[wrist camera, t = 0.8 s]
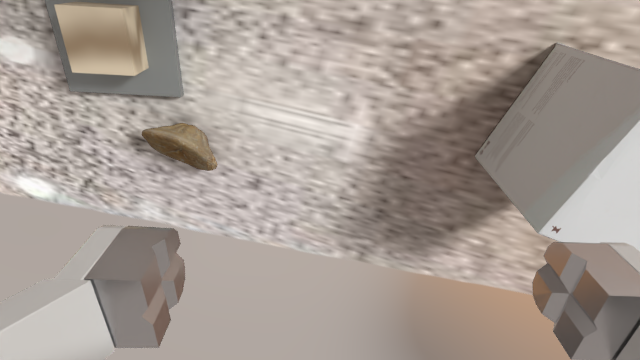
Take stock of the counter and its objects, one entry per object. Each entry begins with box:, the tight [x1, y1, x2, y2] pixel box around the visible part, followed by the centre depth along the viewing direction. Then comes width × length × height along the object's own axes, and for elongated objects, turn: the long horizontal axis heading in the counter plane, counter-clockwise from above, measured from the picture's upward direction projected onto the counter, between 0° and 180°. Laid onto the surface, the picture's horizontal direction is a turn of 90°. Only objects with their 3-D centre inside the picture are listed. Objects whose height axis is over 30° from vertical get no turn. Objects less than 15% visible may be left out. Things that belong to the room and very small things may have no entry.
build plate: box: [45, 0, 183, 97], centre depth 45 cm, size 14×14×1 cm
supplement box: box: [475, 43, 640, 252], centre depth 43 cm, size 17×13×18 cm
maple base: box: [54, 2, 149, 76], centre depth 42 cm, size 7×7×4 cm
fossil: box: [142, 123, 217, 171], centre depth 49 cm, size 9×4×10 cm
